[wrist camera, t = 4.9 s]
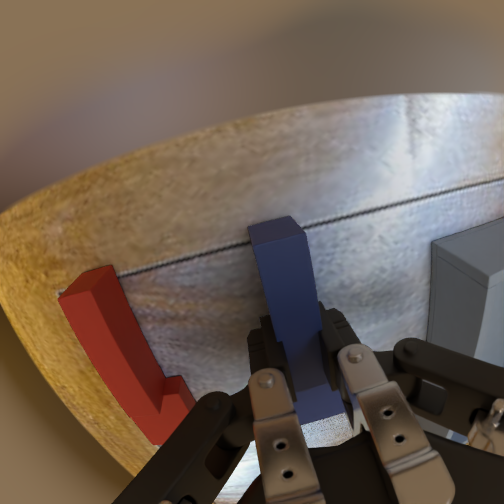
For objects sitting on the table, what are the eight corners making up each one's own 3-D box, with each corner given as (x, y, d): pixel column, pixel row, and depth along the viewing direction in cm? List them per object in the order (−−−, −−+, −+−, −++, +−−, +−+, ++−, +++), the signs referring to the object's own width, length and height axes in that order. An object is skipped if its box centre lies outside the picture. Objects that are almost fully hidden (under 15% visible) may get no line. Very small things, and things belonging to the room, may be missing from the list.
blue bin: (431, 241, 13) (489, 276, 9) (533, 206, 13) (580, 225, 9) (412, 420, 19) (435, 461, 14) (500, 371, 19) (527, 399, 14)
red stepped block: (67, 277, 13) (41, 302, 10) (129, 259, 13) (109, 285, 10) (155, 429, 16) (150, 460, 14) (208, 423, 16) (207, 456, 14)
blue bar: (225, 231, 12) (225, 253, 10) (311, 210, 12) (331, 225, 10) (279, 412, 16) (286, 446, 14) (338, 396, 16) (351, 427, 14)
